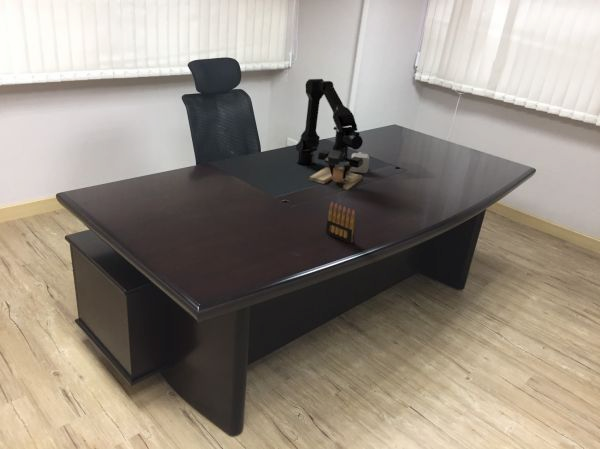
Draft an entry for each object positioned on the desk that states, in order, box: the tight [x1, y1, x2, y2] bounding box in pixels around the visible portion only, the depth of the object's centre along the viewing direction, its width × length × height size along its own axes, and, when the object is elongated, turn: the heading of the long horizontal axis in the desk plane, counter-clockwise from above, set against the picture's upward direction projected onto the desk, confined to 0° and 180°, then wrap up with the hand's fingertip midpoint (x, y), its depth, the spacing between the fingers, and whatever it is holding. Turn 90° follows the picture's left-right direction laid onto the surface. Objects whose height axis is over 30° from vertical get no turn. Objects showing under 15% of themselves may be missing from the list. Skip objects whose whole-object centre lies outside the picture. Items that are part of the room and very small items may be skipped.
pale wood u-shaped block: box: [309, 163, 363, 191], centre depth 218 cm, size 18×16×6 cm
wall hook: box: [349, 151, 370, 174], centre depth 231 cm, size 8×10×10 cm
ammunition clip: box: [325, 201, 356, 244], centre depth 167 cm, size 11×2×12 cm, turn 50°
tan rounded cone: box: [331, 166, 345, 183], centre depth 214 cm, size 5×5×5 cm
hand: (338, 177), depth 214 cm, fingers closed on tan rounded cone, 5 cm apart
